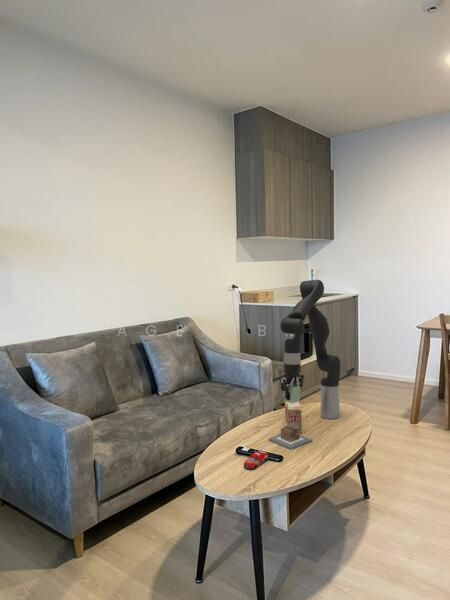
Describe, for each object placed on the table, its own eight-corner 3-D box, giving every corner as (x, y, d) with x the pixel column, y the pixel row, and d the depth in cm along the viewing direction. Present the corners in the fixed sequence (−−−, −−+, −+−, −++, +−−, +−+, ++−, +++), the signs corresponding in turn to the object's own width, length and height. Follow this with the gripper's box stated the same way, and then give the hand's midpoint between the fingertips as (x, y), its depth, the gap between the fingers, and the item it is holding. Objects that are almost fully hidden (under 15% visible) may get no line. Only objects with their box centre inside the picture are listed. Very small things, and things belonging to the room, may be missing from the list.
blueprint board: (289, 432, 211) (289, 420, 210) (312, 441, 200) (311, 428, 199) (268, 440, 202) (268, 427, 202) (290, 449, 191) (290, 436, 191)
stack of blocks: (284, 418, 232) (284, 396, 231) (296, 418, 231) (296, 395, 231) (288, 434, 211) (288, 409, 210) (301, 434, 210) (301, 409, 209)
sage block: (291, 398, 203) (291, 383, 202) (299, 401, 199) (300, 386, 199) (284, 400, 200) (284, 385, 199) (292, 403, 196) (292, 387, 195)
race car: (252, 472, 172) (252, 462, 172) (241, 468, 175) (241, 458, 175) (270, 460, 182) (270, 450, 182) (259, 456, 186) (259, 447, 185)
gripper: (296, 358, 206) (296, 394, 207) (275, 362, 197) (275, 399, 198) (308, 361, 200) (308, 397, 201) (287, 365, 191) (287, 403, 192)
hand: (291, 398), depth 199 cm, fingers closed on sage block, 5 cm apart
